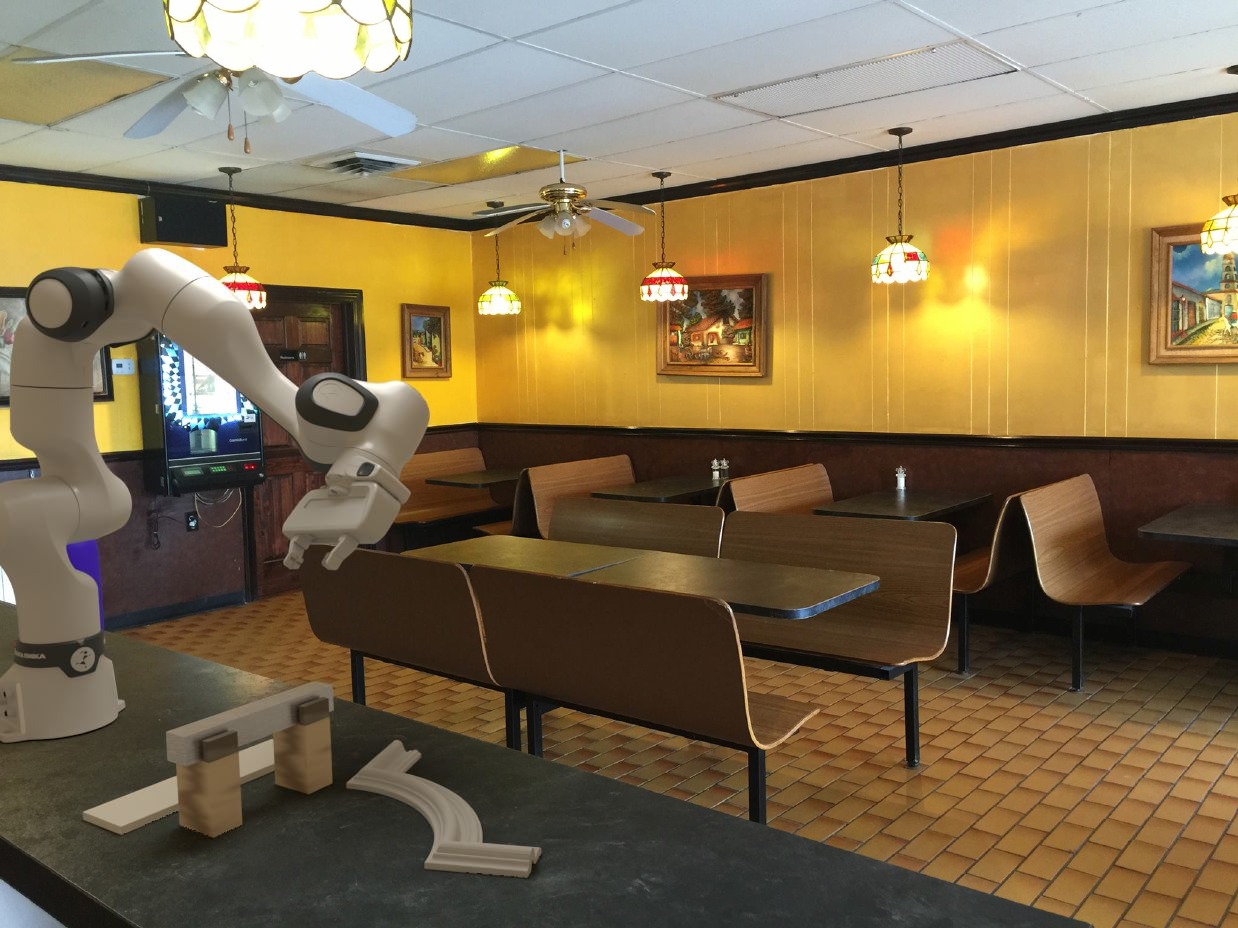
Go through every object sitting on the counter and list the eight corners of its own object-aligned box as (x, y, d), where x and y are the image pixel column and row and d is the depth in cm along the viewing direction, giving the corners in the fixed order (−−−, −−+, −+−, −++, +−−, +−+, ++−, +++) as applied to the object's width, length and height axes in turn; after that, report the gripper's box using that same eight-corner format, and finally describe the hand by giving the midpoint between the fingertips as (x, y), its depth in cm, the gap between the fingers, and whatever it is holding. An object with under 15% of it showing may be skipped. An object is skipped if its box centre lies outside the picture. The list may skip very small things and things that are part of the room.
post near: (179, 825, 119) (174, 732, 118) (208, 812, 123) (203, 722, 122) (213, 837, 116) (208, 742, 115) (242, 824, 119) (237, 731, 118)
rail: (167, 760, 116) (165, 731, 116) (315, 706, 135) (314, 680, 134) (186, 766, 114) (184, 736, 114) (333, 710, 133) (332, 684, 132)
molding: (558, 873, 108) (558, 847, 108) (455, 905, 101) (455, 878, 101) (410, 752, 143) (410, 733, 143) (327, 771, 136) (326, 750, 136)
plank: (83, 819, 121) (82, 811, 121) (272, 745, 145) (271, 738, 145) (121, 834, 117) (121, 826, 117) (309, 755, 141) (309, 748, 141)
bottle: (72, 664, 188) (61, 507, 186) (49, 658, 193) (38, 505, 190) (114, 654, 195) (105, 502, 193) (91, 648, 200) (81, 500, 197)
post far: (275, 783, 131) (271, 699, 130) (299, 773, 135) (295, 690, 134) (308, 794, 128) (304, 706, 127) (332, 782, 131) (328, 698, 130)
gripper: (302, 473, 144) (250, 554, 137) (386, 465, 130) (333, 554, 123) (334, 499, 147) (285, 578, 140) (419, 493, 134) (369, 581, 127)
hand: (308, 567), depth 132 cm, fingers open, 8 cm apart
